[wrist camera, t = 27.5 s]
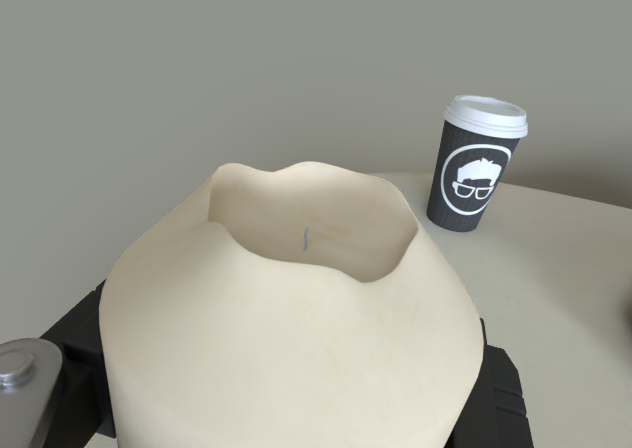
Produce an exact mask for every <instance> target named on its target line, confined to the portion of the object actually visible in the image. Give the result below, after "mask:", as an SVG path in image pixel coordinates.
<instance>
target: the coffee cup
mask: <svg viewBox="0 0 632 448" xmlns="http://www.w3.org/2000/svg"><path fill="white" fill-rule="evenodd" d="M442 116H443V118H444V119H445V123H444V128H443V133H442V139H441V144H440V149H439V154H438V159H437V164H436V169H435V174H434V179H433V184H432V188H431V193H430V198H429V203H428V208H427V216H428V218H429V219H430V220H431V221H432V222H434V223H435V224H437V225H439V226H441V227H443V228H445V229H448V230H452V231H458V232H468V231H472V230H474V229H475V228H476V226H477V224H478V222H479V220H480V218H481V216H482V214H483V212H484V210H485V208H486V206H487V204H488V202H489V200H490V198H491V196H492V194H493V192H494V190H495V188H496V186H497V184H498V182H499V180H500V178H501V176H502V174H503V172H504V170H505V167H506V165H507V163H508V162H509V160H510V158H511V156H512V154H513V152H514V150H515V148H516V146H517V144H518V142H519V140H520V138H521V137H524V136H526V135H527V131H528V127H527V126H528V124H527V122H526V112H525V110H523V109H522V108H520V107H518V106H516V105H514V104H511V103H508V102H505V101H502V100H498V99H494V98H489V97H484V96H477V95H458V96H456V97H455V98H454V100H453V101H452V103H451V104H449V105H448V106H447V107H446V109H445V110H444V112H443V113H442Z"/></svg>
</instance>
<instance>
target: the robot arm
mask: <svg viewBox="0 0 632 448" xmlns="http://www.w3.org/2000/svg"><path fill="white" fill-rule="evenodd" d="M105 282H106V279H105V280H104V281H103V282H102V283H101V284H100V285H98V286H97V287H96V290H95V291H92V292H91V293H89V295H87V296H86V297H85V298H84V299H83V300H81V301H80V302H79V303H78V304H77V305H76V306H75V307H74V308H72V309H71V310H70V311H69V312H68V313H67V314H66V315H65V316H63V317H62V318H61V319H60V320H59V321H58V322H57V323H56V324H54V326H52V327H51V328H50V329H49V330H48V331H47V332H45V333H44V334H43V335H42V336H41V337H39V338H25V339H18V340H13V341H9V342H6V343H3V344H1V345H0V448H84V447H85V445H86V444H87V443H88V441H89V440H90V439H91V438H92V436H93V435H94V434H95V432H97V433H99V434H102V435H105V436H108V437H111V438H114V439H115V438H116V430H115V424H114V417H113V411H112V404H111V398H110V392H109V385H108V379H107V372H106V366H105V359H104V353H103V346H102V340H101V333H100V325H99V305H100V300H101V294H102V289H103V287H104V284H105ZM480 321H481V325H482V332H483V340H484V345H483V360H482V363H481V367H480V370H479V374H478V378H477V380H476V382H475V384H474V386H473V388H472V390H471V392H470V394H469V396H468V399H467V401H466V403H465V405H464V407H463V409H462V411H461V413H460V415H459V417H458V419H457V421H456V423H455V425H454V427H453V429H452V431H451V433H450V435H449V438H448V440H447V442H446V444H445V446H444V448H534V446H533V442H532V437H531V432H530V427H529V422H528V418H526V408H525V403H524V398H522V394H523V393H522V388H521V384H520V379H519V374H518V370H517V369H516V367H515V366H514V364H513V363H512V361H511V360H510V358H509V357H508V355H507V354H506V352H505V350H504V349H501V348H497V347H494V346H490V345H487V340H486V333H485V325H484V321H483V319H482V318H480Z"/></svg>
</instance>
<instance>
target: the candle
mask: <svg viewBox="0 0 632 448" xmlns="http://www.w3.org/2000/svg"><path fill="white" fill-rule="evenodd" d="M99 325H100V333H101V340H102V346H103V353H104V359H105V366H106V372H107V379H108V385H109V392H110V398H111V404H112V411H113V417H114V424H115V430H116V436H117V443H118V448H444V446H445V444H446V442H447V440H448V438H449V435H450V433H451V431H452V429H453V427H454V425H455V423H456V421H457V419H458V417H459V415H460V413H461V411H462V409H463V407H464V405H465V403H466V401H467V399H468V396H469V394H470V392H471V390H472V388H473V386H474V384H475V382H476V380H477V378H478V374H479V370H480V367H481V363H482V360H483V345H484V340H483V332H482V325H481V321H480V318H479V315H478V312H477V309H476V307H475V305H474V302H473V300H472V298H471V296H470V294H469V292H468V291H467V289H466V287H465V286H464V284H463V283H462V281H461V279H460V278H459V276H458V275H457V273H456V272H455V270H454V269H453V267H452V266H451V264H450V263H449V261H448V260H447V259H446V257H445V256H444V254H443V253H442V251H441V250H440V249H439V247H438V246H437V245H436V243H435V242H434V241H433V239H432V238H431V237H430V235H429V234H428V233H427V231H426V230H425V229H424V227H423V226H422V224H421V223H420V222H419V220H418V219H417V217H416V216H415V214H414V212H413V211H412V209H411V207H410V205H409V204H408V202H407V200H406V199H405V197H404V196H403V194H402V192H401V191H400V190H399V189H398V188H397V187H396V186H395V185H394V184H393V183H392V182H390V181H388V180H385V179H383V178H380V177H375V176H370V175H365V174H360V173H356V172H353V171H349V170H346V169H343V168H340V167H336V166H333V165H328V164H324V163H319V162H311V161H309V162H299V163H296V164H294V165H291V166H289V167H286V168H283V169H280V170H276V171H273V172H267V171H262V170H256V169H254V168H251V167H248V166H246V165H241V164H237V163H229V164H223V165H221V166H219V167H218V168H216V169H215V171H214V172H213V173H212V174H211V175H210V176H209V178H208V179H207V180H206V181H205V182H204V183H203V184H202V185H201V186H200V187H199V188H198V189H197V190H195V191H194V192H193V193H192V194H191V195H189V196H188V197H187V198H186V199H185V200H183V201H182V202H181V203H180V204H179V205H177V206H176V207H175V208H174V209H172V210H171V211H170V212H169V213H168V214H166V215H165V216H164V217H163V218H161V219H160V220H159V221H158V222H157V223H156V224H154V225H153V226H152V227H151V228H150V229H148V230H147V231H146V232H145V233H144V234H143V235H141V236H140V237H139V238H138V239H137V240H136V241H134V242H133V243H132V244H131V245H130V246H129V247H128V248H127V249H126V250H125V251H124V253H123V254H122V255H121V256H120V257H119V258H118V260H117V261H116V263H115V265H114V266H113V268H112V269H111V271H110V272H109V275H108V277H107V279H106V282H105V284H104V287H103V289H102V294H101V300H100V305H99Z"/></svg>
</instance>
